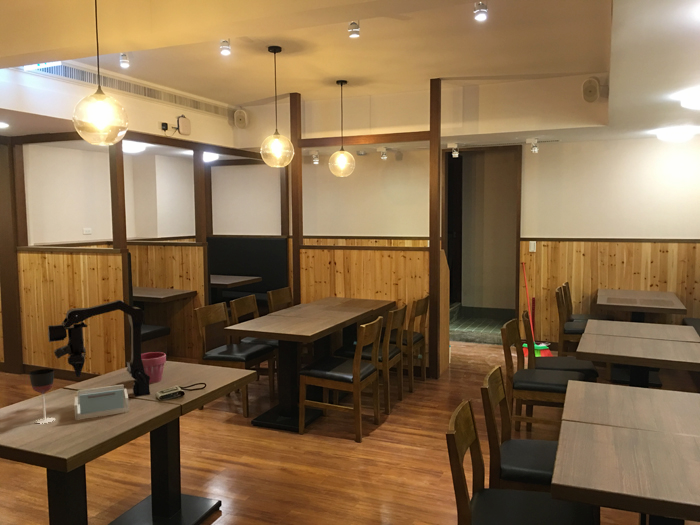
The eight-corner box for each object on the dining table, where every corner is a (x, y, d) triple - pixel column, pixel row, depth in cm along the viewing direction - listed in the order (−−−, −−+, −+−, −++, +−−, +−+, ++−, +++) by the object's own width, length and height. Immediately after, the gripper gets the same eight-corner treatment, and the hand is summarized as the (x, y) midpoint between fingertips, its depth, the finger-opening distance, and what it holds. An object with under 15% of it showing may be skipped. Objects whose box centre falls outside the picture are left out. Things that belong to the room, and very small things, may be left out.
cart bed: (126, 401, 245) (125, 384, 244) (129, 411, 232) (128, 392, 232) (76, 409, 236) (74, 390, 236) (75, 420, 224) (74, 400, 223)
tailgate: (123, 406, 231) (122, 389, 230) (123, 408, 230) (122, 390, 229) (80, 413, 224) (79, 395, 224) (80, 414, 223) (79, 396, 222)
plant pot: (134, 386, 267) (132, 360, 266) (138, 378, 281) (136, 353, 280) (165, 383, 270) (164, 357, 269) (168, 375, 284) (166, 350, 283)
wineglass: (40, 417, 228) (36, 369, 226) (61, 417, 227) (58, 368, 226) (28, 424, 220) (24, 374, 218) (50, 424, 220) (46, 374, 218)
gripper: (56, 336, 244) (59, 371, 246) (52, 345, 227) (55, 382, 229) (84, 333, 249) (87, 367, 250) (83, 342, 232) (85, 378, 233)
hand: (78, 374), depth 241 cm, fingers open, 9 cm apart
